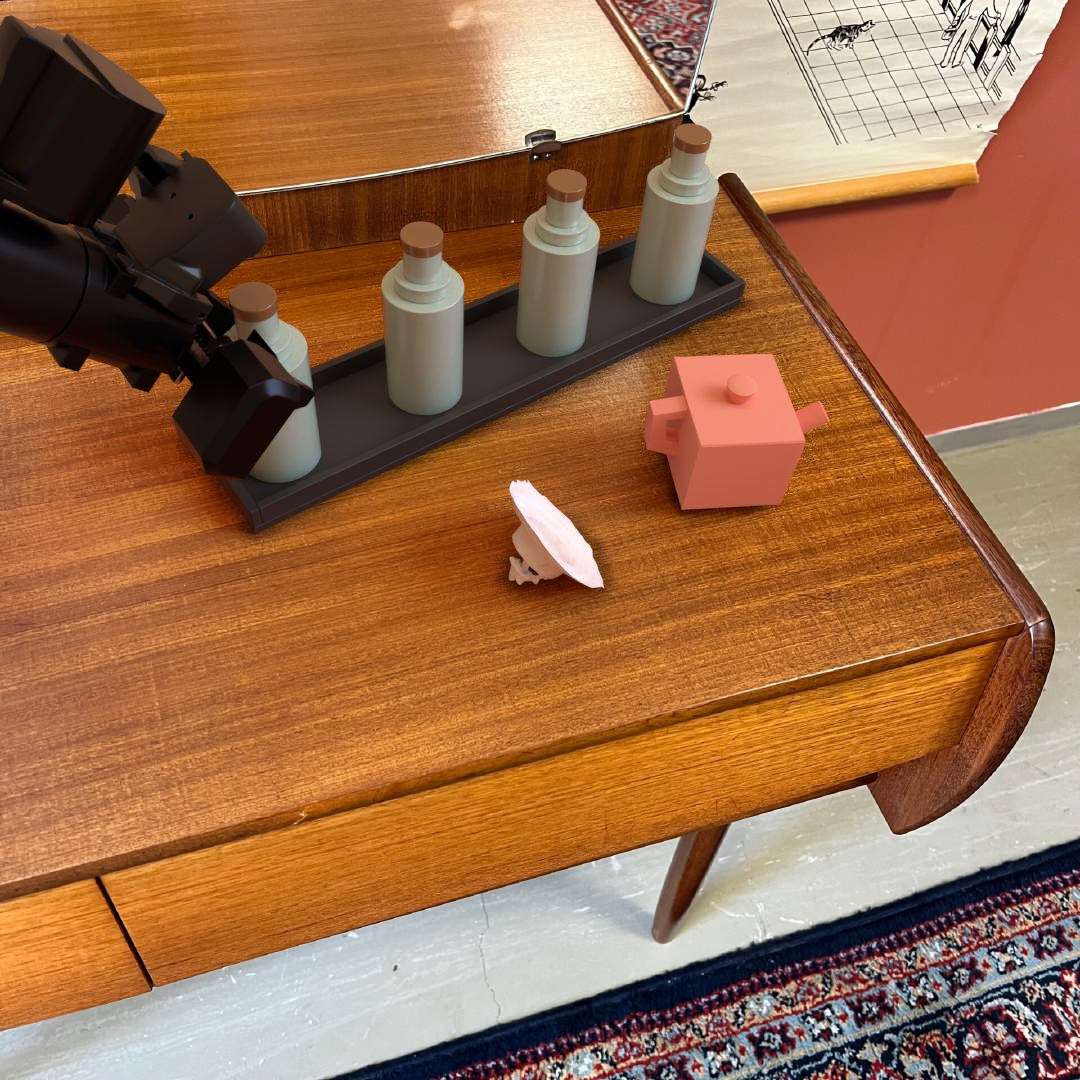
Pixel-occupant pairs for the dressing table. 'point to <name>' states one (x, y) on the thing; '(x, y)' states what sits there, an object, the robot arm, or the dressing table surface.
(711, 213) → the bottle far
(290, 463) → the bottle
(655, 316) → the tray
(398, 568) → the dressing table surface
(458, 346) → the bottle near
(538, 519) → the pale pink ornate lid
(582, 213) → the bottle middle
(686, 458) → the pink cube teapot
